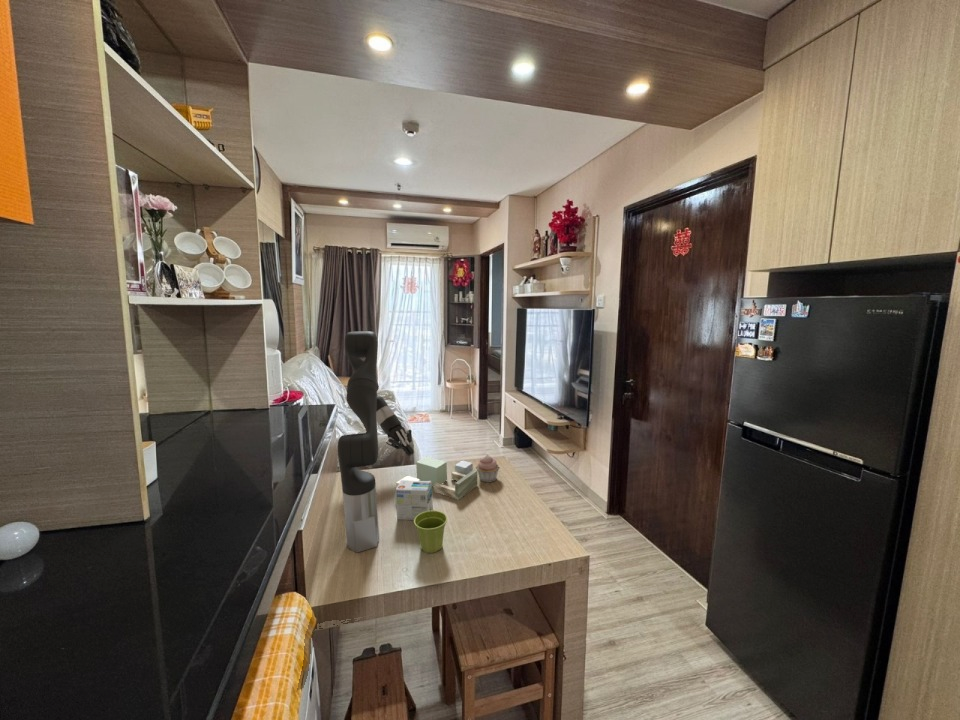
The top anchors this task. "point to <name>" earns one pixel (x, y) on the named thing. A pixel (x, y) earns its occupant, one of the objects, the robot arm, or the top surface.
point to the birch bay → (458, 485)
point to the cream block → (407, 480)
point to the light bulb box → (413, 498)
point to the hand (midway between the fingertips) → (411, 454)
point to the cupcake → (487, 469)
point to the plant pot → (430, 530)
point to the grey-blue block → (464, 467)
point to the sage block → (431, 470)
